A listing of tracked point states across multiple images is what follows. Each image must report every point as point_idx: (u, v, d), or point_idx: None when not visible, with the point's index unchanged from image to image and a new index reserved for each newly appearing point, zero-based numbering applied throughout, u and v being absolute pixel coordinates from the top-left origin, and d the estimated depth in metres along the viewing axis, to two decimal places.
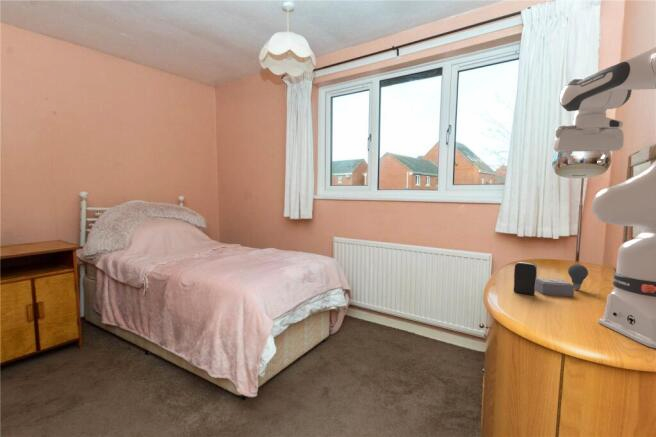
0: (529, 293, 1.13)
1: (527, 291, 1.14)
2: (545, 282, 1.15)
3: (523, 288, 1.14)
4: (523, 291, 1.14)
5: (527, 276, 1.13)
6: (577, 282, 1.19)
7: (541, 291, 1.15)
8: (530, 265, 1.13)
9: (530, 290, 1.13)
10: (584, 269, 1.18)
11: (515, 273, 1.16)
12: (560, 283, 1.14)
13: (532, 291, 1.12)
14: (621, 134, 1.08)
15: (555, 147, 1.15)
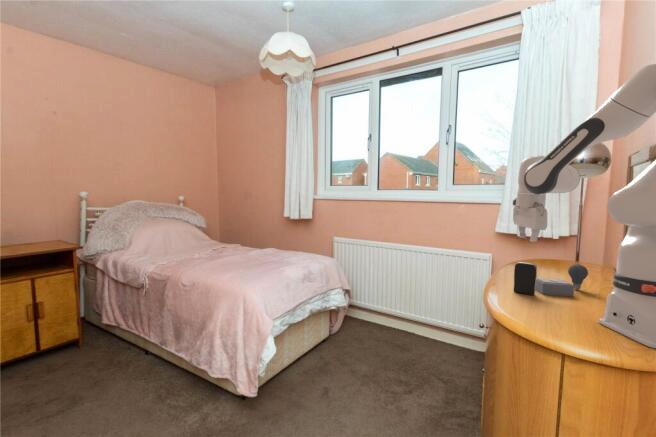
0: (529, 293, 1.13)
1: (527, 291, 1.14)
2: (545, 282, 1.15)
3: (523, 288, 1.14)
4: (523, 291, 1.14)
5: (527, 276, 1.13)
6: (577, 282, 1.19)
7: (541, 291, 1.15)
8: (530, 265, 1.13)
9: (530, 290, 1.13)
10: (584, 269, 1.18)
11: (515, 273, 1.16)
12: (560, 283, 1.14)
13: (532, 291, 1.12)
14: None
15: (540, 226, 1.04)
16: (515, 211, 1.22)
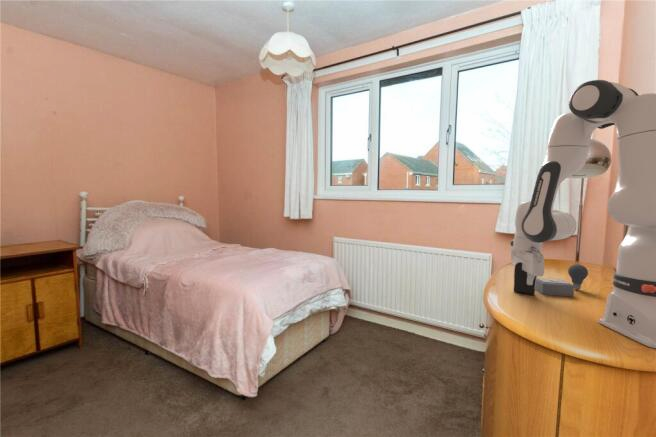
0: (529, 293, 1.13)
1: (527, 291, 1.14)
2: (545, 282, 1.15)
3: (523, 288, 1.14)
4: (523, 291, 1.14)
5: None
6: (577, 282, 1.19)
7: (541, 291, 1.15)
8: None
9: (530, 290, 1.13)
10: (584, 269, 1.18)
11: (515, 273, 1.16)
12: (560, 283, 1.14)
13: (532, 291, 1.12)
14: None
15: (537, 272, 1.05)
16: (513, 251, 1.23)
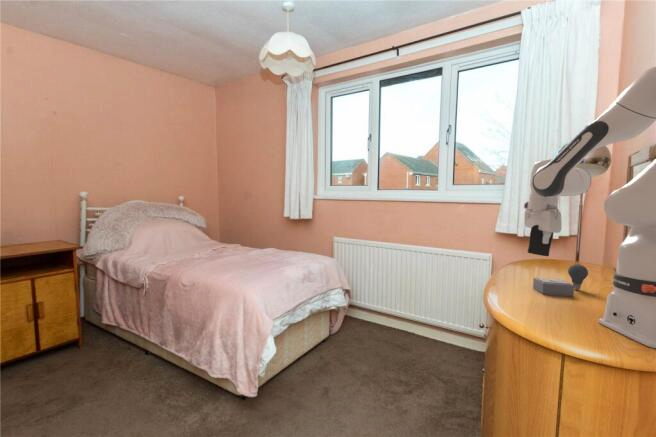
0: (544, 254, 1.14)
1: (542, 252, 1.14)
2: (545, 282, 1.15)
3: (538, 250, 1.15)
4: (538, 252, 1.15)
5: None
6: (577, 282, 1.19)
7: (541, 291, 1.15)
8: None
9: (545, 251, 1.14)
10: (584, 269, 1.18)
11: (531, 235, 1.15)
12: (560, 283, 1.14)
13: (547, 252, 1.13)
14: None
15: (554, 228, 1.05)
16: (527, 214, 1.22)
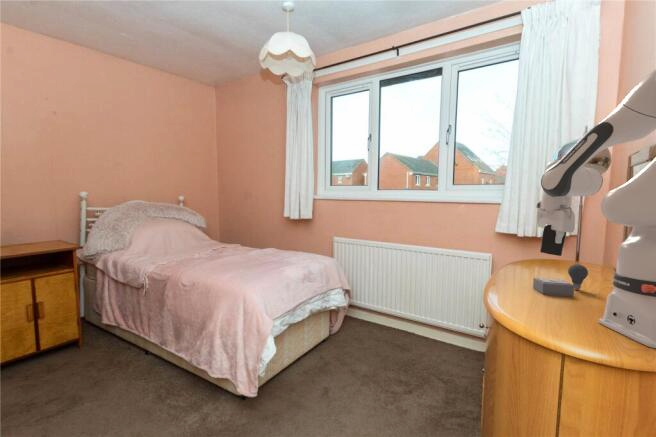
0: (556, 254, 1.15)
1: (554, 252, 1.15)
2: (545, 282, 1.15)
3: (550, 249, 1.16)
4: (550, 252, 1.16)
5: None
6: (577, 282, 1.19)
7: (541, 291, 1.15)
8: None
9: (558, 251, 1.15)
10: (584, 269, 1.18)
11: (544, 235, 1.16)
12: (560, 283, 1.14)
13: (560, 252, 1.14)
14: None
15: (568, 228, 1.06)
16: (539, 214, 1.23)
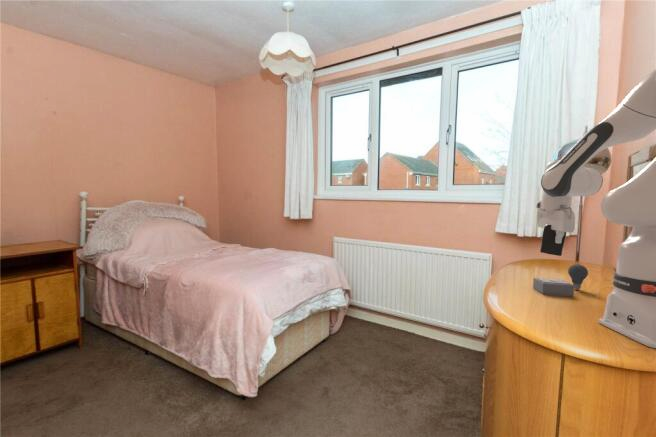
0: (556, 254, 1.15)
1: (554, 252, 1.15)
2: (545, 282, 1.15)
3: (550, 249, 1.16)
4: (550, 252, 1.16)
5: None
6: (577, 282, 1.19)
7: (541, 291, 1.15)
8: None
9: (558, 251, 1.15)
10: (584, 269, 1.18)
11: (544, 235, 1.16)
12: (560, 283, 1.14)
13: (560, 252, 1.14)
14: None
15: (568, 228, 1.06)
16: (539, 214, 1.23)
